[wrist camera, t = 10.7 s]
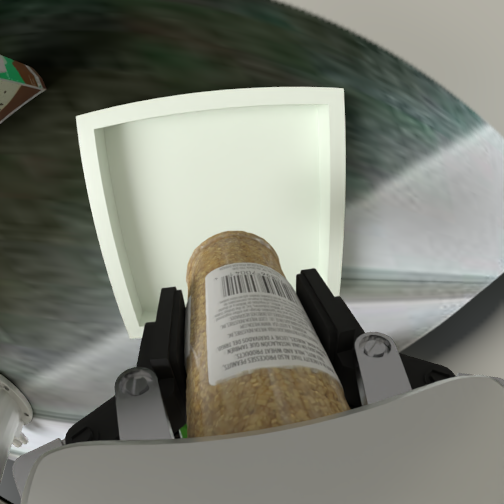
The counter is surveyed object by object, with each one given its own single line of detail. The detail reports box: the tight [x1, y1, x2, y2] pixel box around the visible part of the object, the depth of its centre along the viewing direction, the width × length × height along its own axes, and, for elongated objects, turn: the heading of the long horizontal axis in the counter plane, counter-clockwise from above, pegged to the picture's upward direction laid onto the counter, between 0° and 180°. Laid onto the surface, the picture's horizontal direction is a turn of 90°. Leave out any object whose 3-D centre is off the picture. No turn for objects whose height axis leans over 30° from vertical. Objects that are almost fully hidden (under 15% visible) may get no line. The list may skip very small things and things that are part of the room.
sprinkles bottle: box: [184, 231, 351, 438], centre depth 9 cm, size 5×5×13 cm
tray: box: [76, 87, 346, 339], centre depth 23 cm, size 18×18×3 cm
